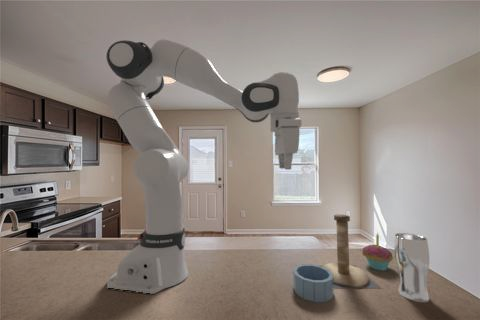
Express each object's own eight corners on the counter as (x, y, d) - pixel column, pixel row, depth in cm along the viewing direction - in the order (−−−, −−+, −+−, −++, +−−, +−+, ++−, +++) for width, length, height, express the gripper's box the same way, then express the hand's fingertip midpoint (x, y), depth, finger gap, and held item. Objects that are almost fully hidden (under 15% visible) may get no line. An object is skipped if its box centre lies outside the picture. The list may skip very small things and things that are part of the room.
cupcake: (397, 275, 64) (395, 235, 65) (366, 271, 67) (364, 233, 68) (388, 264, 73) (386, 228, 73) (360, 260, 75) (358, 226, 76)
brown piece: (331, 287, 58) (329, 220, 59) (315, 266, 71) (313, 211, 72) (379, 287, 58) (376, 220, 58) (353, 266, 70) (352, 211, 71)
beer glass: (439, 306, 50) (435, 241, 51) (405, 302, 51) (402, 240, 52) (420, 290, 57) (417, 233, 57) (391, 287, 58) (388, 232, 59)
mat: (330, 289, 57) (330, 288, 57) (313, 266, 71) (313, 265, 71) (382, 289, 57) (382, 288, 57) (354, 266, 71) (354, 265, 71)
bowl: (299, 303, 51) (299, 282, 52) (290, 281, 61) (290, 264, 62) (340, 303, 51) (339, 282, 52) (324, 281, 61) (324, 264, 61)
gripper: (270, 130, 77) (270, 168, 77) (279, 119, 57) (280, 170, 57) (288, 130, 77) (288, 168, 77) (303, 118, 57) (303, 170, 56)
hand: (284, 169), depth 67 cm, fingers open, 8 cm apart
